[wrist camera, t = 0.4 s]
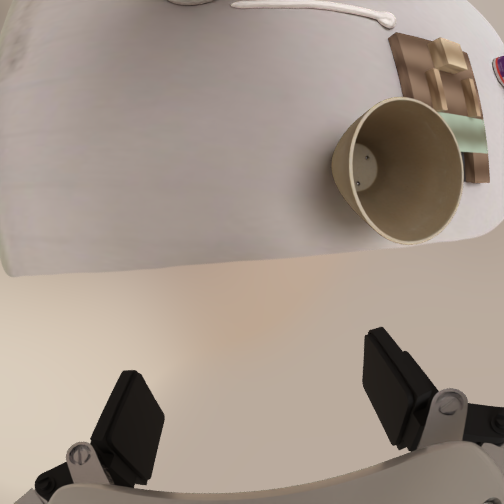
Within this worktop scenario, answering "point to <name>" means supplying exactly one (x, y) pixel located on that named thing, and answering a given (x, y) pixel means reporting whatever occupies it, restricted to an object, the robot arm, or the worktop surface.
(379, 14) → the white knobbed rod
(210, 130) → the worktop surface
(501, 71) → the pill bottle
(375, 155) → the plant pot
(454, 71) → the block
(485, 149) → the wooden block puzzle
